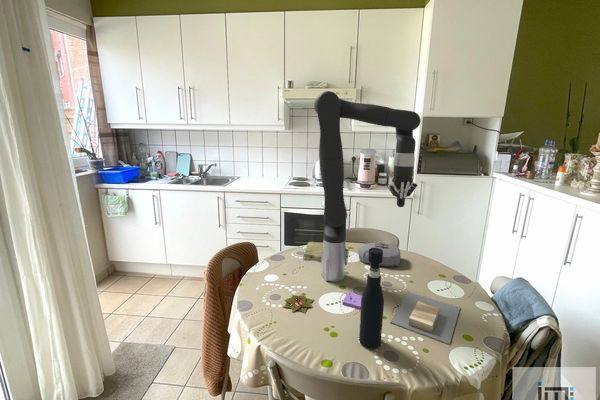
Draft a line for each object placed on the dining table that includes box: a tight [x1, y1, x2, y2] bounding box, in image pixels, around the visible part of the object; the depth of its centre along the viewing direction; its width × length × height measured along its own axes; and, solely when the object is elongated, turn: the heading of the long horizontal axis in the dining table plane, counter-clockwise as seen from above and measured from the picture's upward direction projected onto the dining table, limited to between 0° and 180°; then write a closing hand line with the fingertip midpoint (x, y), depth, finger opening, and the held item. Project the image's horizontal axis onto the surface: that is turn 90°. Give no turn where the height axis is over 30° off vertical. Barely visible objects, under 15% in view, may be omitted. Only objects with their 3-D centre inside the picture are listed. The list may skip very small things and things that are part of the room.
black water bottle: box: [358, 248, 385, 350], centre depth 88 cm, size 6×6×30 cm
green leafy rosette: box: [282, 292, 314, 314], centre depth 110 cm, size 12×12×5 cm
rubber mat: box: [389, 291, 461, 346], centre depth 104 cm, size 22×18×1 cm
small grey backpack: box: [357, 242, 402, 267], centre depth 144 cm, size 15×8×20 cm
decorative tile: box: [302, 241, 347, 263], centre depth 151 cm, size 19×20×4 cm
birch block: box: [409, 300, 440, 332], centre depth 101 cm, size 3×7×12 cm
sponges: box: [341, 291, 362, 310], centre depth 110 cm, size 7×13×2 cm, turn 64°
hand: (400, 206), depth 123 cm, fingers closed
